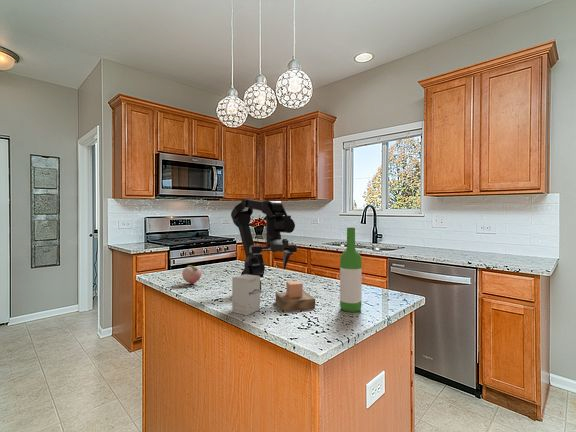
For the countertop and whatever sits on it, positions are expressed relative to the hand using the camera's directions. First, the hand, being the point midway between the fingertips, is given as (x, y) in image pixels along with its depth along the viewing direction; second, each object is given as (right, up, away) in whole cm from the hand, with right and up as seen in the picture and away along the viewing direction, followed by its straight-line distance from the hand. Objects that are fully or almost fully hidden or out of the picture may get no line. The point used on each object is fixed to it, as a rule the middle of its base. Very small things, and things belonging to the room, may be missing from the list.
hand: (273, 269), depth 130 cm
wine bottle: (+29, -13, -13) cm, 34 cm away
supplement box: (-9, -13, -15) cm, 21 cm away
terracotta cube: (+8, -9, -7) cm, 14 cm away
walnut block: (+9, -13, -8) cm, 17 cm away
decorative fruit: (-41, -12, +26) cm, 50 cm away
